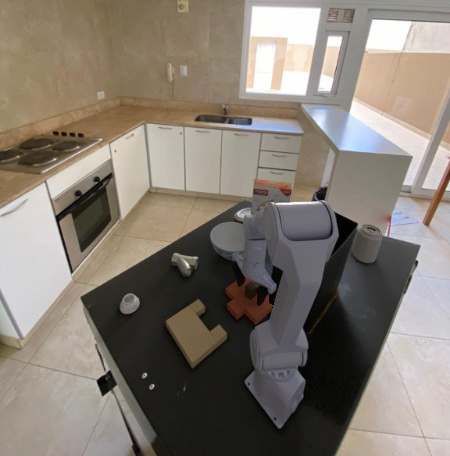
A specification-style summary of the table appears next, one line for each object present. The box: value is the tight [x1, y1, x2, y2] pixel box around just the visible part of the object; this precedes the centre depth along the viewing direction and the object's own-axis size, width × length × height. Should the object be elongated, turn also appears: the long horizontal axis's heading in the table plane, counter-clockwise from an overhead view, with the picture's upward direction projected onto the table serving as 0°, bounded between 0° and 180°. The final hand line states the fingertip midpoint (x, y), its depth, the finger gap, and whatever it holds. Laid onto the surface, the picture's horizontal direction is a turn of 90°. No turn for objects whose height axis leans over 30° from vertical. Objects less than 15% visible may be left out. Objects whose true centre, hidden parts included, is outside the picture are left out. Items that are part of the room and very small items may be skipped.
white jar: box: [119, 293, 141, 315], centre depth 68 cm, size 5×3×5 cm
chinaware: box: [209, 221, 245, 261], centre depth 87 cm, size 15×15×8 cm
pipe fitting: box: [170, 252, 199, 278], centre depth 80 cm, size 8×4×7 cm
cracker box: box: [250, 178, 293, 215], centre depth 98 cm, size 14×6×21 cm, turn 81°
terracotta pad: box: [225, 278, 273, 326], centre depth 70 cm, size 12×11×6 cm
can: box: [351, 223, 384, 264], centre depth 87 cm, size 8×8×12 cm
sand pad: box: [165, 298, 228, 369], centre depth 62 cm, size 12×10×2 cm
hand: (250, 293), depth 71 cm, fingers open, 7 cm apart
